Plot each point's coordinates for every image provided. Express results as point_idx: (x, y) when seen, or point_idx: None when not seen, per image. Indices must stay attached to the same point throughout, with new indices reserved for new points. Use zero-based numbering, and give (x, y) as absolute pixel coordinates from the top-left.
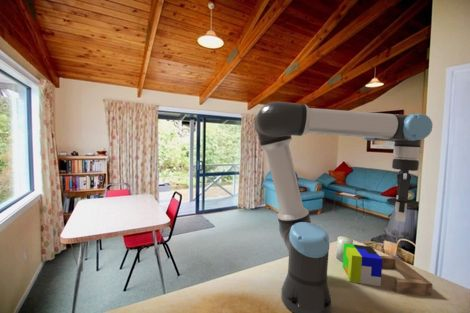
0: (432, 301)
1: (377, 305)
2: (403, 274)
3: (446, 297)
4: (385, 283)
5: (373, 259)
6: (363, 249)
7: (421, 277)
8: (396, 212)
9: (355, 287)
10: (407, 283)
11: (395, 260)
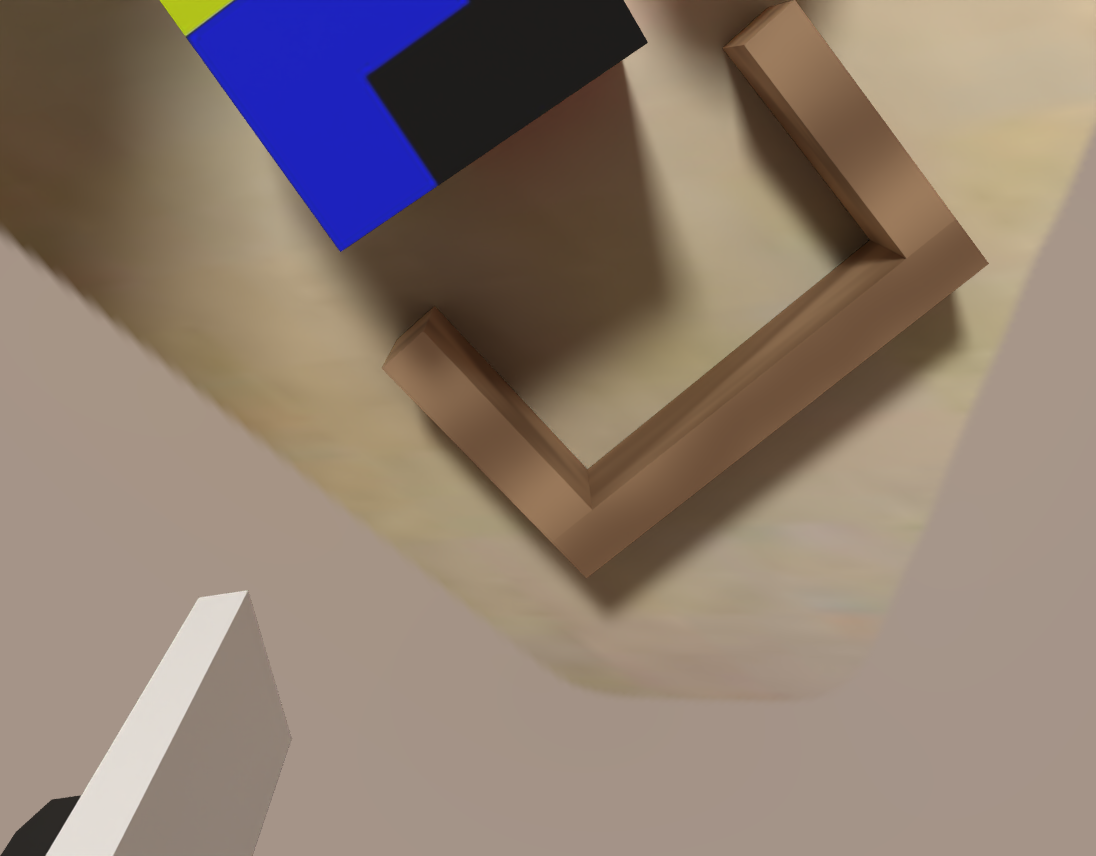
0: (493, 541)
1: (69, 248)
2: (756, 339)
3: (640, 609)
4: (476, 232)
5: (277, 161)
6: None
7: (641, 505)
8: (134, 718)
9: (163, 33)
10: (437, 423)
11: (889, 267)
